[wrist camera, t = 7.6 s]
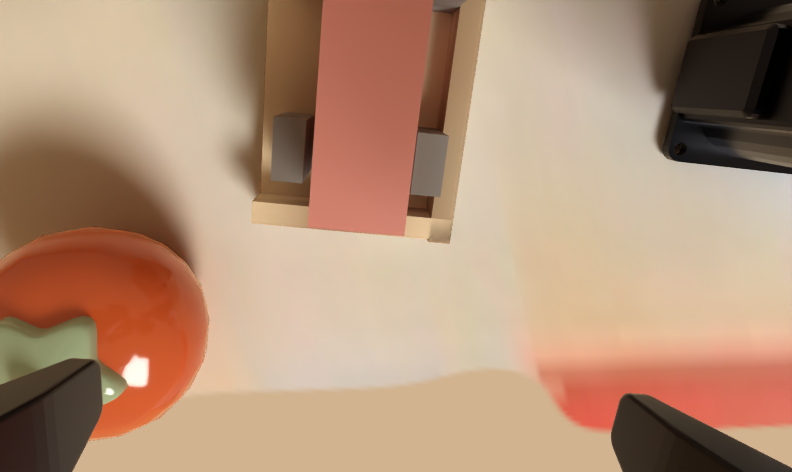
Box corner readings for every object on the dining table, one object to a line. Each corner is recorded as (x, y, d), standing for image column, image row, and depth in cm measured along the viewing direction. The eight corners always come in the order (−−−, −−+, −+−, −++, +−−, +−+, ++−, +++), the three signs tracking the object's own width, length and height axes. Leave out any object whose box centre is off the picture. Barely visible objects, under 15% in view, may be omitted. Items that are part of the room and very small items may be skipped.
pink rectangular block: (345, -86, 16) (335, -191, 10) (420, -74, 17) (454, -170, 11) (325, 181, 19) (307, 227, 13) (390, 188, 19) (404, 236, 13)
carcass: (486, -102, 18) (520, -155, 14) (439, 225, 21) (456, 256, 17) (278, -135, 17) (254, -200, 13) (264, 209, 20) (241, 237, 16)
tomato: (63, 179, 19) (-132, 238, 12) (252, 236, 20) (187, 324, 13) (35, 343, 21) (-151, 487, 14) (209, 387, 22) (130, 543, 15)
